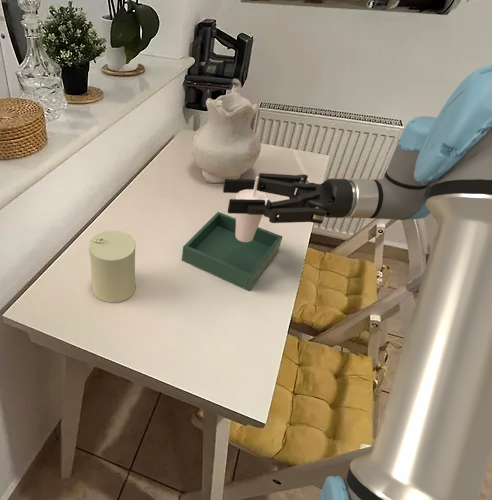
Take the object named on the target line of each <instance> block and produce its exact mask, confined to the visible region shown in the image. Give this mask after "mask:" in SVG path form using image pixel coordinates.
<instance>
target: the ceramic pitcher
mask: <svg viewBox="0 0 492 500" xmlns="http://www.w3.org/2000/svg"><path fill="white" fill-rule="evenodd" d="M231 84H232V88H231V92H230V93H229V94H224V95H220V96H218V97H217V98H216V99H213V98H211V97H208V98H207V99H206V101H205V104H206V108H207V112H208V121H207V123H206V124H204V125H202V126H200V127H199V128H198V129H197V130H196V131H195V132H194V133H193V135H192V138H191V142H190V143H191V144H190V152H191V156H192V158H193V161H194V163H195V164H196V166H197V167H198V168H199V169H200V170H201V171H200V172H201V177H202V180H204V181H205V182H206V183H209V184H221V183H222V184H224V182H225V179H241V178H242V177H243V175H242V174H244V173H246V172H248V171H249V170H250V169H251V168H252V167H253V166H254V165H255V163H256V162H257V161H258V158H259V157H260V154H261V150H262V143H261V140H260V138H259V136H258V134H257V133H256V132H255V131H254V130H253V129H252V126H251V125H252V124H251V123H252V120H253V118H254V116H255V115H256V114H257V113H258V110H260V104H259V103H254V104H252V103H251V101H250V100H249V99H248V98H245V97H244V96H242V94H241V91H242V83H241V81H240V80H239V78H237V77H236V78H233V79H232V81H231Z"/></svg>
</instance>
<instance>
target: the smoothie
mask: <svg viewBox="0 0 492 500" xmlns="http://www.w3.org/2000/svg"><path fill="white" fill-rule="evenodd" d="M258 176H259V175H258ZM258 176H255V179H254V180H255V185H254V190H253V189H246V190H242V191H240V192H238V193H236V194H235V198H234V199H246V200H265V205H266V203H267V200H270V199H269V196H268V195H267V193H265V192H261V191H258V190H257V185H258V180H259V177H258ZM235 218H236V230H235V237H236V239H238V240H239V241H241V242H250V241H252V240H253V238H254V235H255V233H256V230H257V228H258V227H259V226H260V222H261V220H262V218H263V215H250V214H236V213H235Z"/></svg>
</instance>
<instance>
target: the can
mask: <svg viewBox="0 0 492 500" xmlns="http://www.w3.org/2000/svg"><path fill="white" fill-rule="evenodd" d="M136 247H137V244H136V240H135V239H134V237H133V236H131V235H130V234H128V233H127V232H125V231H120V230H105V231H102V232H99V233H97V234H96V235H94V236H93V237H92V238H91V239H90V240H89V243H88V250H89V251H88V252H89V257H90V258H89V260H90V270H91V291H92V293H93V295H94V296H95V297H96V298H97V299H98V300H100V301H103V302H106V303H120V302H124V301H126V300H128V299H129V298H131V297H132V296H133V295H134V294H135V291H136V288H137V285H136Z"/></svg>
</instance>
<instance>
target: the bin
mask: <svg viewBox="0 0 492 500" xmlns="http://www.w3.org/2000/svg"><path fill="white" fill-rule="evenodd" d="M235 230H236V217H233V216H230V215H228V214H226V213H222V212H220V211H217V212H215V214H214V215H213V216H212V217H211V218H210V219H209V220H208V221H207V222H206V223H205V224H204V225H202V227H201V228H200V229H199V230H198V231H197V232H196V233H195V234H194V235H193V236H192V237H191V238H190V239H189V240H187V242H186V243H185V244H184V245H183V246H182V253H181V261H182V262H185V263H186V264H189V265H191V266H194V267H196V268H198V269H200V270H201V271H204V272H206V273H209V274H211V275H212V276H215V277H218V278H220V279H222V280H223V281H226V282H228V283H231V284H233V285H235V286H237V287H239V288H241V289H244V290H245V291H248V292H250V290H251V289H252V288H253V287H254V285H255V284H256V282H258V280H259V278H260V277H261V276H262V274H263V273H264V272H265V270H266V269H267V267H268V266H269V264H270V263H271V262H272V260H273V259H274V257H276V255H277V254H278V252H279V250H280V247H281V244H282V240H283V236H282V235H279V234H278V233H275V232H272V231H269V230H267V229H264V228H262V227H260V226H258V228H257V230H256V233H255V235H254V238H253V240H252V241H250V242H241V241H239V240H238V239H236V237H235Z"/></svg>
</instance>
